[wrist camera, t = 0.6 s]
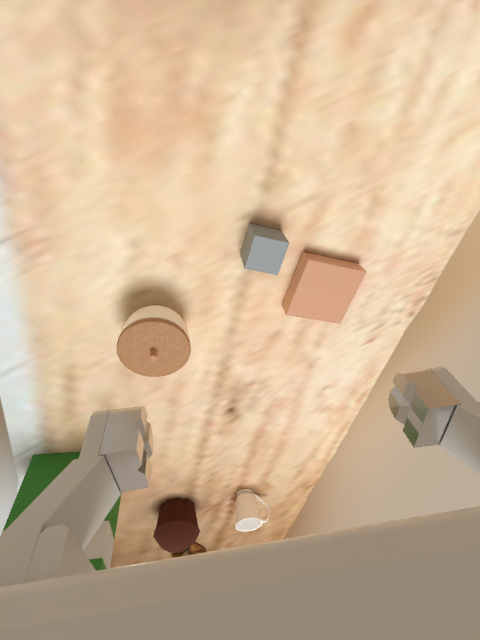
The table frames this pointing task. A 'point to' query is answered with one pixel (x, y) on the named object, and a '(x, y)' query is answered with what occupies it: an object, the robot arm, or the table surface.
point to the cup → (248, 511)
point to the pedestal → (322, 288)
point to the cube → (263, 249)
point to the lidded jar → (154, 341)
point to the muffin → (176, 525)
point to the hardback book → (39, 479)
